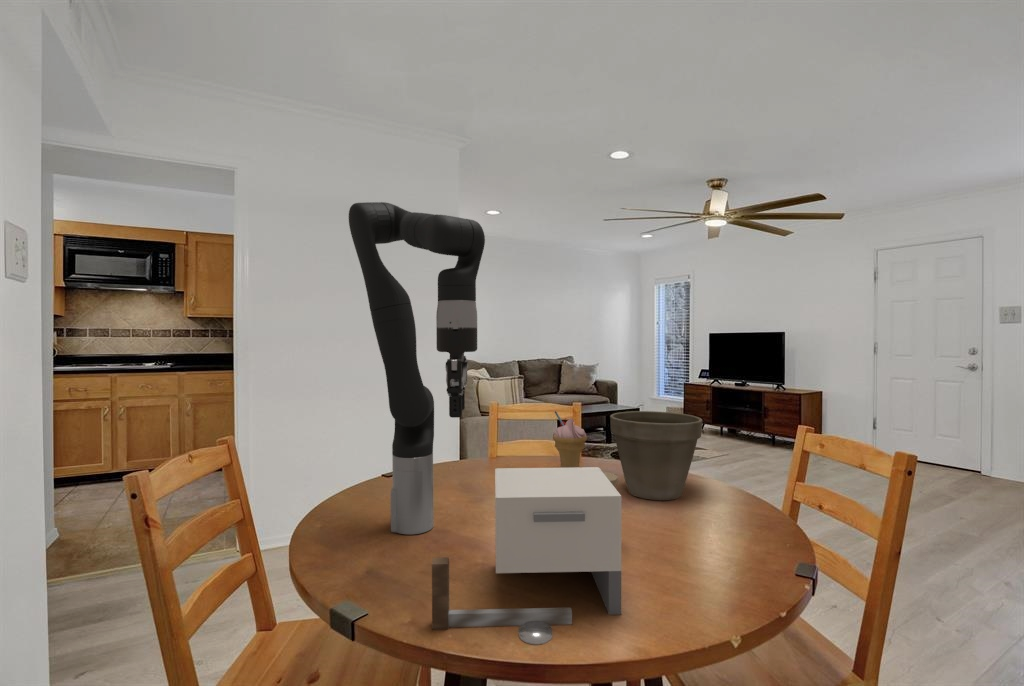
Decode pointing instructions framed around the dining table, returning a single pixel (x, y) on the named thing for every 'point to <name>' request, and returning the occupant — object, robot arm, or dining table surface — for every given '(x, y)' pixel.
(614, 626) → the dining table surface
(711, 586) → the dining table surface
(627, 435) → the plant pot
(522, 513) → the cabinet
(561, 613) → the blade tool
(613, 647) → the dining table surface
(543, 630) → the ball
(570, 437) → the ice cream cone
